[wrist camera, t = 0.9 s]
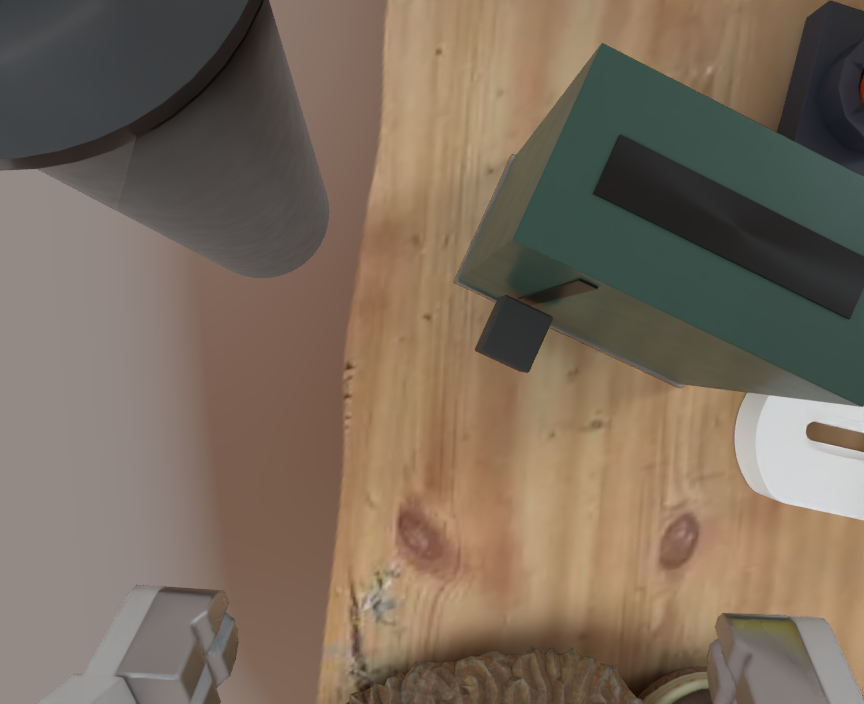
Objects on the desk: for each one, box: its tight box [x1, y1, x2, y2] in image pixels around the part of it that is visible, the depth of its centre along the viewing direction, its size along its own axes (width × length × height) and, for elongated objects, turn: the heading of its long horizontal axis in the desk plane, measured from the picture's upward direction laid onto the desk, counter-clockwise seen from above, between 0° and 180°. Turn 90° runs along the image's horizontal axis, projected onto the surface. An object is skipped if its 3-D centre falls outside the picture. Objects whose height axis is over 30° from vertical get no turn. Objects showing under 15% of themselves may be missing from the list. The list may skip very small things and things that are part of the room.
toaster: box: [453, 43, 864, 407], centre depth 33 cm, size 8×15×16 cm, turn 65°
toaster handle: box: [475, 295, 553, 373], centre depth 36 cm, size 3×3×2 cm
